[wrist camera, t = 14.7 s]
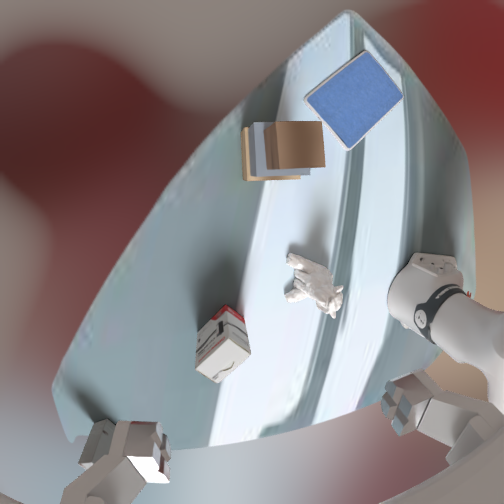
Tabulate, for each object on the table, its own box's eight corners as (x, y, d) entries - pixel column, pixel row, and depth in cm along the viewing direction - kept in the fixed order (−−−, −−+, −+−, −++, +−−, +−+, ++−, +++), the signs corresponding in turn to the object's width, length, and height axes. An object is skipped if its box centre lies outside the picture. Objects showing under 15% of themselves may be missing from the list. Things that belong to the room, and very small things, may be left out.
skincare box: (128, 434, 59) (120, 480, 44) (112, 439, 59) (102, 482, 44) (106, 416, 57) (93, 462, 42) (90, 422, 57) (76, 465, 42)
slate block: (294, 128, 39) (307, 122, 34) (296, 174, 41) (310, 175, 36) (247, 129, 39) (253, 122, 33) (250, 176, 41) (256, 176, 35)
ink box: (225, 302, 52) (229, 337, 41) (244, 317, 53) (253, 354, 42) (195, 332, 53) (193, 371, 42) (215, 346, 54) (217, 385, 43)
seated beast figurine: (285, 251, 51) (306, 275, 39) (330, 250, 52) (360, 271, 40) (282, 300, 53) (300, 333, 42) (325, 296, 55) (351, 327, 43)
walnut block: (301, 129, 34) (321, 121, 27) (304, 167, 35) (325, 167, 29) (263, 130, 33) (275, 121, 27) (266, 169, 35) (279, 169, 28)
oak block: (287, 132, 45) (298, 127, 39) (289, 178, 47) (300, 179, 42) (240, 132, 44) (244, 127, 38) (242, 180, 46) (247, 181, 41)
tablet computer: (345, 153, 48) (349, 152, 47) (300, 100, 44) (302, 98, 43) (402, 98, 46) (406, 97, 45) (363, 50, 42) (366, 48, 41)
